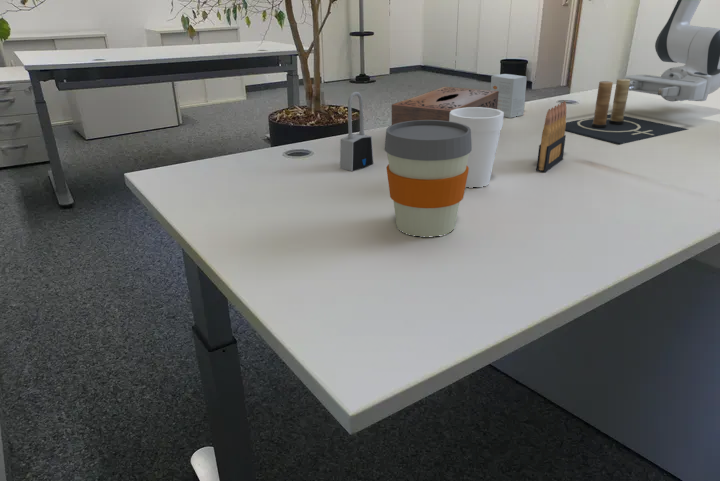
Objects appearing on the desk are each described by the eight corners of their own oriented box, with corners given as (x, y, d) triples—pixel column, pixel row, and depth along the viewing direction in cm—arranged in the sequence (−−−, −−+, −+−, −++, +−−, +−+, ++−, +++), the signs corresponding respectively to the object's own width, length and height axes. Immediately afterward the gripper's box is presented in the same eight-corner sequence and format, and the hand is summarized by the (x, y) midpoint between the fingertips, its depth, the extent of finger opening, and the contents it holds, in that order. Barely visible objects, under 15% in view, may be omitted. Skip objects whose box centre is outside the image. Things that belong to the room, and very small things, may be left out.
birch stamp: (626, 123, 139) (634, 79, 135) (617, 125, 138) (625, 81, 133) (614, 121, 142) (622, 78, 137) (605, 122, 140) (613, 79, 136)
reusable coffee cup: (481, 236, 81) (489, 135, 74) (401, 248, 78) (402, 144, 71) (445, 206, 92) (449, 116, 85) (374, 216, 89) (373, 123, 82)
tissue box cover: (449, 158, 117) (451, 111, 113) (391, 149, 124) (391, 104, 120) (495, 132, 136) (498, 91, 132) (442, 125, 144) (444, 86, 139)
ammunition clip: (545, 172, 107) (552, 110, 102) (535, 171, 108) (542, 109, 103) (562, 159, 114) (570, 100, 109) (554, 157, 115) (561, 99, 110)
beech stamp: (609, 127, 136) (616, 82, 132) (599, 128, 135) (607, 83, 130) (597, 124, 139) (604, 80, 135) (588, 126, 138) (595, 82, 133)
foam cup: (505, 188, 99) (512, 116, 93) (456, 192, 97) (460, 119, 92) (486, 172, 107) (491, 105, 102) (440, 176, 106) (443, 108, 100)
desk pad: (690, 131, 132) (691, 129, 132) (624, 146, 122) (624, 143, 122) (613, 115, 150) (613, 113, 150) (549, 126, 140) (549, 124, 139)
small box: (523, 115, 152) (528, 76, 148) (510, 118, 149) (513, 78, 145) (502, 111, 158) (505, 73, 154) (488, 113, 155) (491, 75, 151)
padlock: (353, 171, 110) (351, 95, 104) (338, 167, 113) (335, 93, 106) (375, 163, 114) (374, 90, 108) (360, 160, 117) (358, 88, 111)
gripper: (644, 67, 153) (610, 72, 147) (718, 76, 136) (684, 81, 130) (640, 90, 155) (606, 96, 149) (712, 101, 139) (678, 108, 133)
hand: (643, 89), depth 140 cm, fingers open, 8 cm apart
